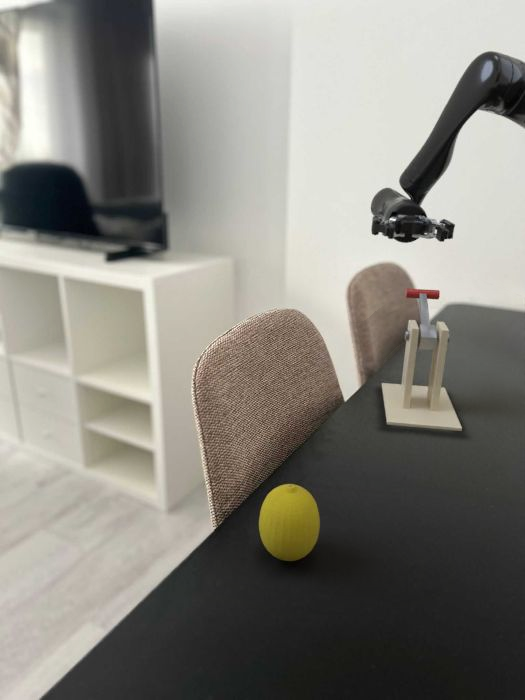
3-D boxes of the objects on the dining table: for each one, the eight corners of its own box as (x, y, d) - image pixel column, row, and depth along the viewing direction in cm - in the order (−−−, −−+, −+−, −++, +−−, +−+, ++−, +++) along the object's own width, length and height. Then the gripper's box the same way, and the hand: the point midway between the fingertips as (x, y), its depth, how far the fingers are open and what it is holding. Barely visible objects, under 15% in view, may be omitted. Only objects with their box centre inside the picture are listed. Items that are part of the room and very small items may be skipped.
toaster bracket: (380, 391, 85) (389, 310, 80) (443, 396, 83) (455, 314, 79) (386, 431, 72) (396, 337, 67) (460, 438, 70) (476, 342, 66)
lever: (404, 296, 82) (406, 284, 81) (437, 298, 81) (439, 285, 80) (408, 348, 74) (410, 336, 72) (444, 350, 73) (447, 338, 71)
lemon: (276, 531, 52) (278, 462, 49) (327, 551, 49) (332, 479, 46) (247, 565, 47) (247, 491, 44) (300, 590, 44) (304, 512, 42)
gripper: (370, 198, 101) (377, 209, 86) (444, 202, 100) (464, 213, 85) (365, 236, 104) (372, 253, 89) (437, 240, 103) (456, 258, 88)
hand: (417, 234), depth 87 cm, fingers open, 8 cm apart
